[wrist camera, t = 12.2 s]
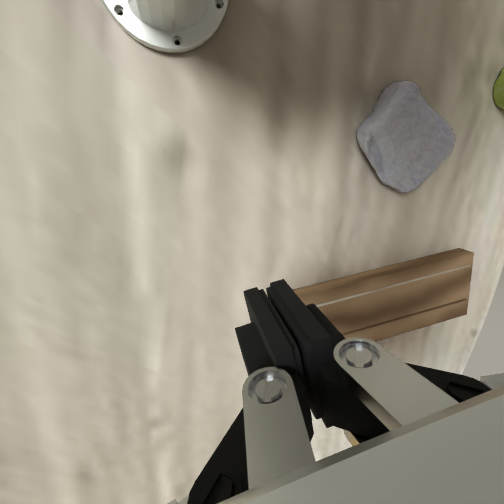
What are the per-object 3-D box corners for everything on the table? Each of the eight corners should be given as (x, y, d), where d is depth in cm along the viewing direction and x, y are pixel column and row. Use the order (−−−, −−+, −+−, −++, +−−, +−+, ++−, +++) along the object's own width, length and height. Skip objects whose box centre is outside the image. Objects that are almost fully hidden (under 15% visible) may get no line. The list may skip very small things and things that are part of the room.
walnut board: (270, 295, 41) (276, 303, 38) (459, 248, 46) (474, 252, 44) (279, 357, 44) (285, 368, 42) (453, 307, 50) (467, 314, 47)
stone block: (389, 195, 43) (444, 139, 40) (407, 204, 38) (470, 142, 35) (334, 143, 39) (391, 76, 36) (348, 146, 35) (413, 71, 32)
